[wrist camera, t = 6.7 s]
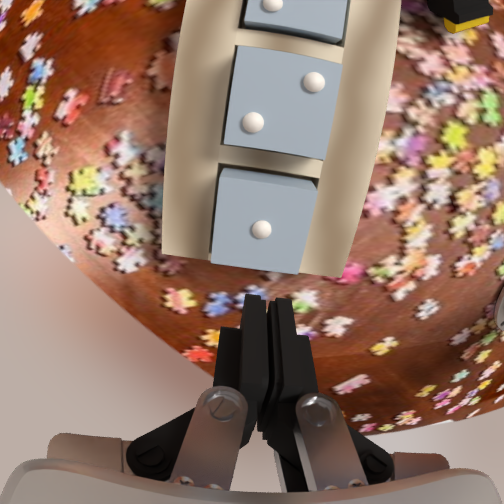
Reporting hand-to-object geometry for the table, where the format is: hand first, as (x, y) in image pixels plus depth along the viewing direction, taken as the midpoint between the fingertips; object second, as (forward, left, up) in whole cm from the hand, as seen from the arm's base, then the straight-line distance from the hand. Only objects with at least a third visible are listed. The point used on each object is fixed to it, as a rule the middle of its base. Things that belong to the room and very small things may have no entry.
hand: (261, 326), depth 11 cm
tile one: (0, 0, -12) cm, 12 cm away
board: (0, -8, -15) cm, 17 cm away
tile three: (0, -16, -13) cm, 21 cm away
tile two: (0, -8, -12) cm, 14 cm away
